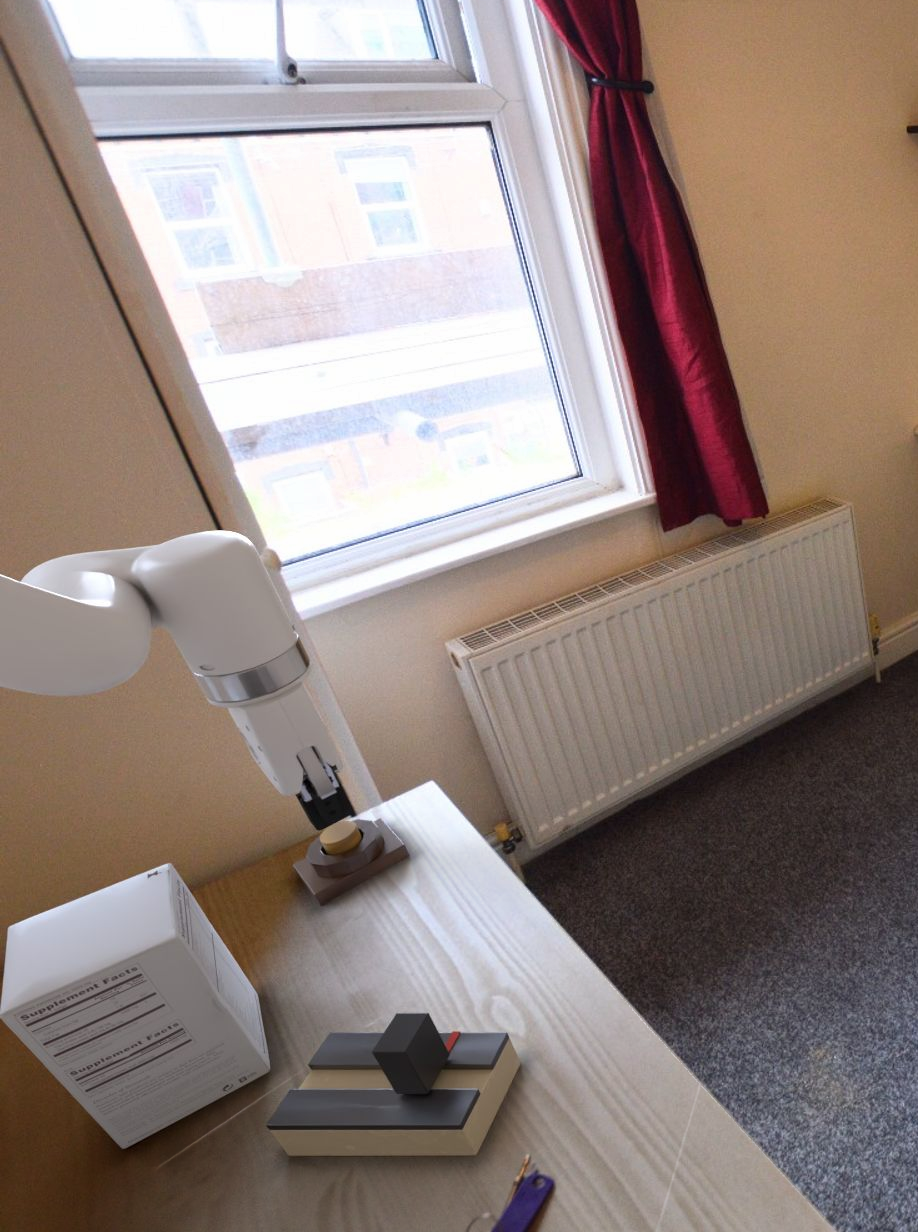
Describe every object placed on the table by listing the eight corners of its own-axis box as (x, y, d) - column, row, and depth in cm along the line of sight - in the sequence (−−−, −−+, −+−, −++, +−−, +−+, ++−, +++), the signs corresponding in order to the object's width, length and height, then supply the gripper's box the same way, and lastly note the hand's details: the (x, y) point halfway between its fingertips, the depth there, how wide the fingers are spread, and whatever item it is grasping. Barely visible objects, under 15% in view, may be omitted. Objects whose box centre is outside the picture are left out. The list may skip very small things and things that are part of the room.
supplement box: (118, 1060, 70) (3, 923, 62) (259, 991, 76) (171, 856, 67) (120, 1155, 64) (-8, 1017, 56) (273, 1072, 69) (177, 935, 61)
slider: (399, 1100, 64) (370, 1052, 61) (422, 1060, 67) (396, 1012, 64) (431, 1100, 64) (404, 1052, 61) (453, 1060, 67) (428, 1012, 64)
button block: (320, 906, 83) (306, 881, 82) (298, 876, 87) (284, 851, 85) (410, 856, 89) (398, 831, 87) (386, 828, 92) (374, 804, 90)
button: (332, 860, 84) (326, 848, 84) (321, 846, 86) (314, 833, 85) (366, 842, 86) (360, 829, 86) (355, 828, 88) (348, 816, 87)
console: (288, 1156, 64) (264, 1124, 62) (349, 1063, 70) (329, 1031, 68) (476, 1156, 64) (459, 1124, 62) (521, 1063, 70) (507, 1031, 68)
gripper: (175, 656, 77) (262, 806, 86) (228, 723, 69) (317, 880, 78) (275, 620, 82) (347, 765, 91) (335, 679, 74) (407, 831, 83)
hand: (333, 818), depth 85 cm, fingers closed
